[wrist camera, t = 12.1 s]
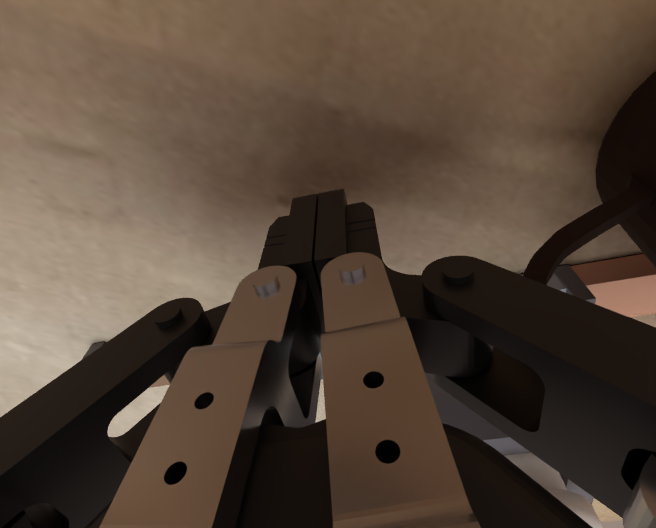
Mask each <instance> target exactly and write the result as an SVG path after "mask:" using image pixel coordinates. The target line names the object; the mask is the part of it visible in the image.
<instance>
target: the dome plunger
mask: <svg viewBox="0 0 656 528" xmlns="http://www.w3.org/2000/svg"><path fill="white" fill-rule="evenodd" d="M505 457H506V458H507V459H509V460H510V461H511V462H512V463H514V464H515V465H516V466H517V467H519V468H520V469H521V470H522V471H524V472H525V473H526V474H527V475H528V476H530V477H531V478H532V479H533V480H535V481H536V482H537V483H538V484H540V485H541V486H542V487H543V488H545V489H546V490H547V491H548V492H550V493H551V494H552V495H553V496H554V497H556V498H557V499H558V500H559V501H561V502H562V503H563V504H564V505H566V506H567V507H568V508H569V509H571V510H572V511H573V512H574V513H576V514H577V515H578V516H579V517H580V518H582V519H583V520H584V521H585V522H587V523H588V524H589V525H590V526H592V527H593V528H603V527H602V525H601V523H600V521H599V519H598V517H597V514H596V512H595V510H594V508H593V506H592V504H591V502H590V501H589V500H588V499H587V498H585V497H584V496H582V495H580V494H578V493H574V492H571V491H567V489H566V487H565V484H564V482H563V480H562V478H561V476H560V473H559V472H558V471H556V470H555V469H553V468H552V467H551V466H549V465H548V464H546V463H545V462H544V461H542V460H541V459H539V458H538V457H537V456H535V455H534V454H532V453H524V454H514V455H505Z"/></svg>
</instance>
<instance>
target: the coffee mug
mask: <svg viewBox="0 0 656 528" xmlns="http://www.w3.org/2000/svg"><path fill="white" fill-rule="evenodd" d="M596 182H597V189H598V192H599V195H600V198H601V201H602V202H603V204H602V205H600V206H598V207H596V208H594V209H592V210H591V211H589V212H587V213H586V214H584V215H582V216H581V217H579V218H578V219H576V220H574V221H573V222H571V223H569V224H568V225H566V226H564V227H563V228H561V229H560V230H558V231H557V232H556V233H555V234H553V235H552V237H551V238H550V239H549V240H548V241H547V242H546V243H545V244H544V245H543V246H542V247H541V248H540V249H539V250H538V251H537V252H536V253H535V254H534V256H533V257H532V259H531V260H530V262H529V264H528V266H527V268H526V270H525V272H524V275H523V276H524V277H527V278H529V279H532V280H534V281H537V282H540V283H542V284H545V285H547V283H548V281H549V280H550V279H551V277H552V275H553V273H554V272H555V270H556V268H557V267H558V265H559V264H560V263H561V262H562V261H563V260H564V259H565V258H566V257H567V256H568V255H570V254H571V253H573V252H574V251H576V250H577V249H579V248H580V247H582V246H583V245H585V244H586V243H588V242H589V241H591V240H592V239H594V238H595V237H597V236H599V235H600V234H602V233H603V232H605V231H607V230H608V229H610V228H612V227H613V226H615V225H617V224H620V225H621V226H622V227H623V229H624V230H625V231H626V232H627V234H628V235H629V236H630V237H631V238H632V240H633V241H634V242H635V243H636V245H637V246H638V247H639V248H640V249H641V251H642V252H643V253H644V254H645V256H646V257H647V258H648V259H649V260H650V262H651V263H652V264H653V265H654V267H655V268H656V72H654V73H653V74H652V75H651V76H650V77H649V78H648V79H647V80H646V81H645V82H644V83H643V84H642V85H641V86H640V87H639V88H638V89H637V90H636V91H635V92H634V93H633V94H632V96H631V97H630V98H629V99H628V101H627V102H626V103H625V105H624V106H623V107H622V108H621V110H620V111H619V112H618V114H617V115H616V117H615V119H614V121H613V122H612V124H611V126H610V128H609V129H608V131H607V133H606V135H605V138H604V141H603V143H602V146H601V149H600V151H599V155H598V161H597V167H596Z"/></svg>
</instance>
